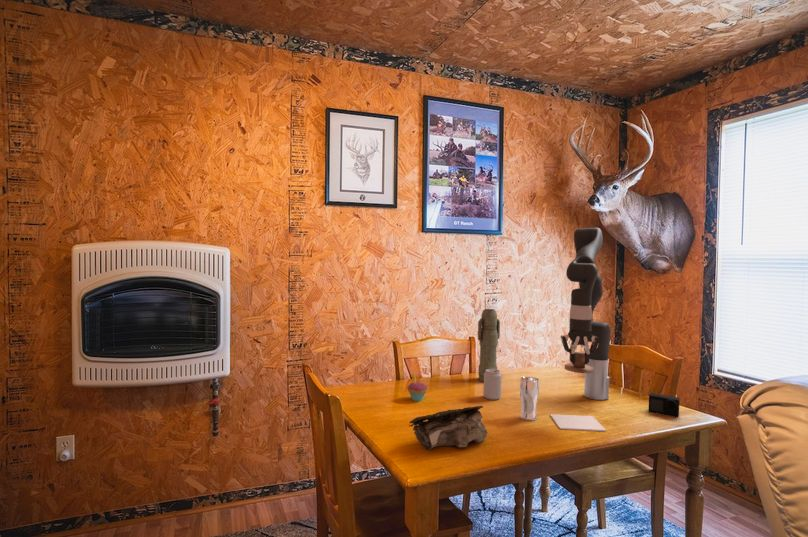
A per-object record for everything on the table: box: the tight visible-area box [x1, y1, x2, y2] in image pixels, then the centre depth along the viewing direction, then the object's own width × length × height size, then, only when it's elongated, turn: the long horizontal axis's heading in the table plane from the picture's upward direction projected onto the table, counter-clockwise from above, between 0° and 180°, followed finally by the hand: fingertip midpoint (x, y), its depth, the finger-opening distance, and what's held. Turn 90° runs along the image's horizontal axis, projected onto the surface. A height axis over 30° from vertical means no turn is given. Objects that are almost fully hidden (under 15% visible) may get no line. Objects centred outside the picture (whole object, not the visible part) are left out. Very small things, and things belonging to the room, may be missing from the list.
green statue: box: [477, 308, 501, 383], centre depth 223 cm, size 9×12×35 cm
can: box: [482, 368, 503, 401], centre depth 196 cm, size 8×8×12 cm
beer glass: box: [519, 376, 540, 422], centre depth 172 cm, size 7×7×15 cm
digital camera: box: [647, 392, 681, 419], centre depth 180 cm, size 10×5×7 cm, turn 55°
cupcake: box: [406, 370, 428, 402], centre depth 191 cm, size 9×8×12 cm
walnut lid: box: [564, 351, 594, 374], centre depth 167 cm, size 10×10×6 cm
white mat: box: [550, 413, 607, 432], centre depth 168 cm, size 16×14×1 cm
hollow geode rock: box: [408, 405, 489, 451], centre depth 145 cm, size 28×13×15 cm
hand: (579, 363), depth 167 cm, fingers closed on walnut lid, 4 cm apart
